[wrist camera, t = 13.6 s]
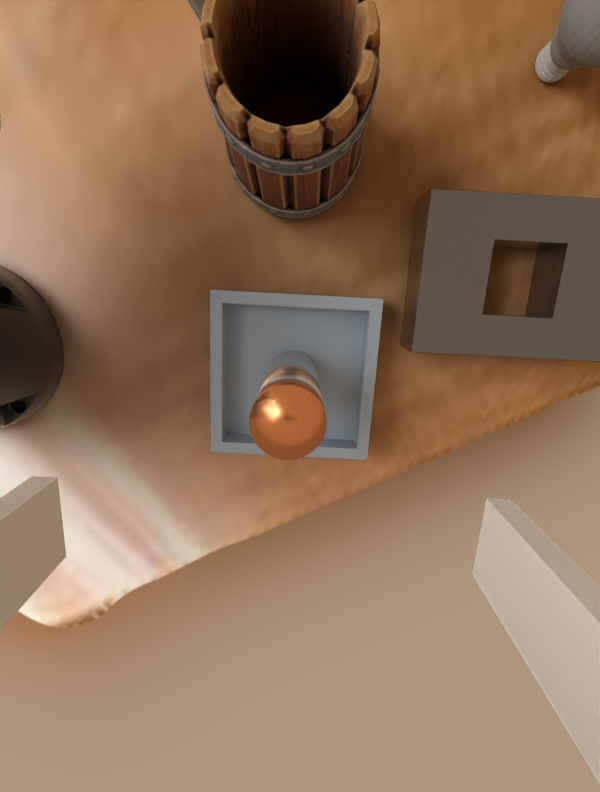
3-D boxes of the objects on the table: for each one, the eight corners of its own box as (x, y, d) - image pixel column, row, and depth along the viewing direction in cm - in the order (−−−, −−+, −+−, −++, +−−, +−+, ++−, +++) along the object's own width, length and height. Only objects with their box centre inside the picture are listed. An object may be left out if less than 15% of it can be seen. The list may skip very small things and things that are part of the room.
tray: (217, 440, 39) (210, 452, 36) (217, 289, 35) (209, 289, 32) (362, 447, 39) (367, 459, 36) (376, 298, 35) (383, 298, 32)
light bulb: (571, 1, 30) (700, -138, 20) (599, 82, 31) (734, -14, 21) (497, 50, 31) (587, -62, 21) (527, 126, 32) (626, 54, 22)
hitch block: (399, 345, 36) (411, 351, 32) (416, 201, 33) (431, 188, 29) (575, 354, 36) (608, 361, 33) (607, 211, 33) (647, 201, 30)
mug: (387, 157, 33) (455, 49, 18) (289, 248, 34) (280, 216, 20) (256, -20, 30) (212, -319, 15) (157, 90, 31) (33, -84, 17)
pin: (269, 349, 36) (249, 383, 22) (318, 351, 36) (329, 387, 22) (267, 396, 37) (248, 457, 23) (315, 399, 37) (324, 461, 23)
